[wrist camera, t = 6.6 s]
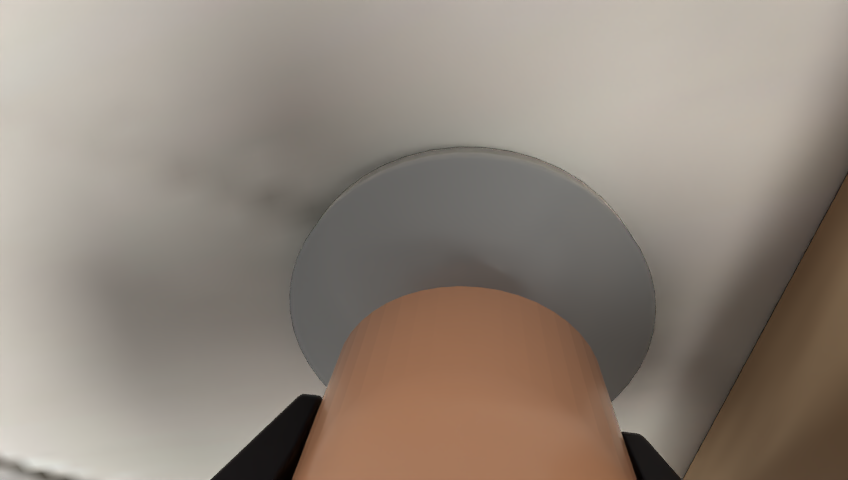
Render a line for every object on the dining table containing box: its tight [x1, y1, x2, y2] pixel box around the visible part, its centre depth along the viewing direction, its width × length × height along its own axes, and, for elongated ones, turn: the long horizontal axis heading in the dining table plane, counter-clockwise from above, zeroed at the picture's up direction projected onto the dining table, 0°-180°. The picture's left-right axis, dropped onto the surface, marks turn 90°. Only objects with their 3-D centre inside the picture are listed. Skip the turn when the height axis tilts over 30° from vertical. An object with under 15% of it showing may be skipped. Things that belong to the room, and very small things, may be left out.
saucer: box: [290, 147, 656, 402], centre depth 11 cm, size 9×9×1 cm
